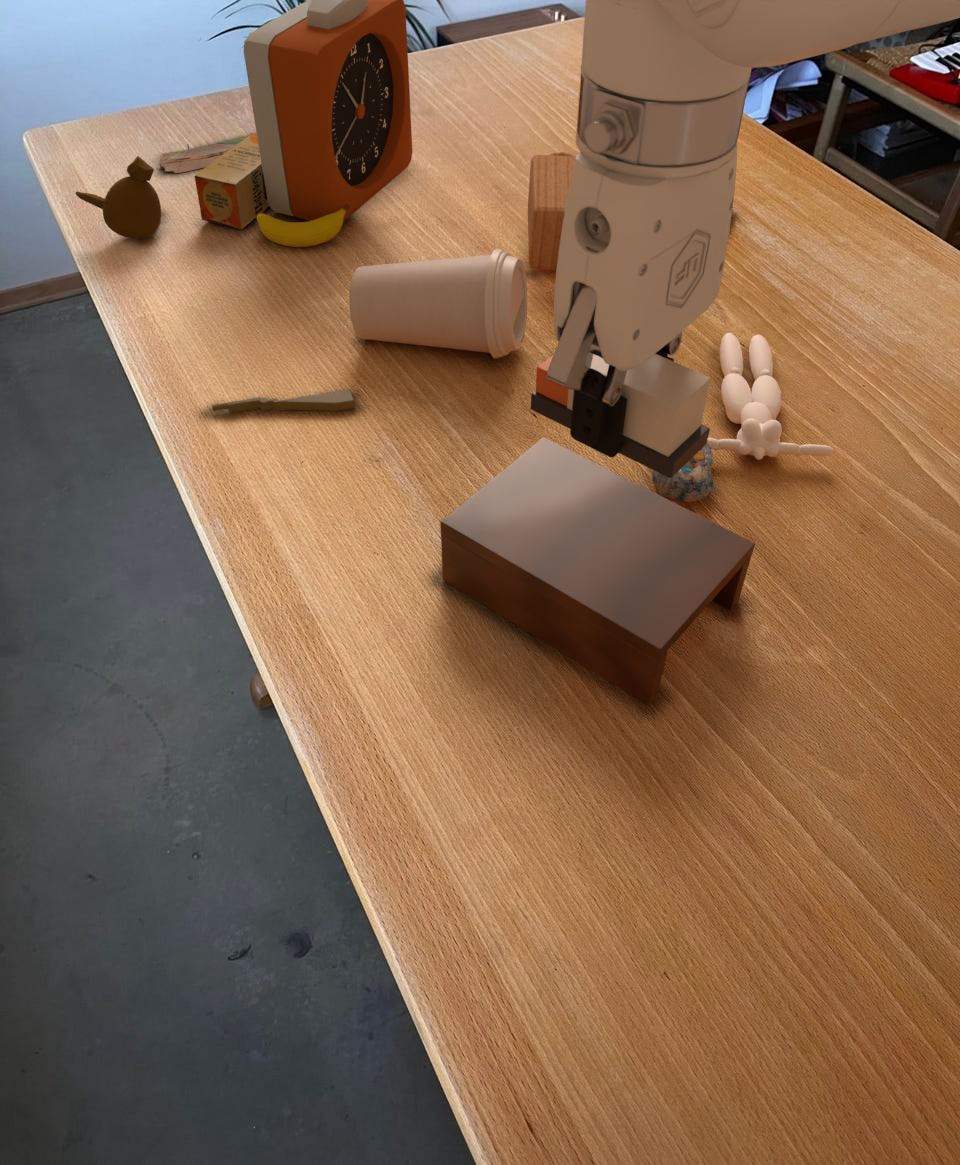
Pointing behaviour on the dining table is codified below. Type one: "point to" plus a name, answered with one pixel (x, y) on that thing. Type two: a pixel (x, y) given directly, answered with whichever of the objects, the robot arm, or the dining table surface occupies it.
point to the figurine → (130, 203)
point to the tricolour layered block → (644, 410)
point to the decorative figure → (755, 403)
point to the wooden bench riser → (591, 563)
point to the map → (196, 156)
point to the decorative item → (547, 206)
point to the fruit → (302, 229)
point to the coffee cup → (443, 303)
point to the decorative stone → (688, 479)
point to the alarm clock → (330, 103)
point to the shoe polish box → (233, 186)
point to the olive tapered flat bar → (295, 403)
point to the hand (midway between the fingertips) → (618, 423)
